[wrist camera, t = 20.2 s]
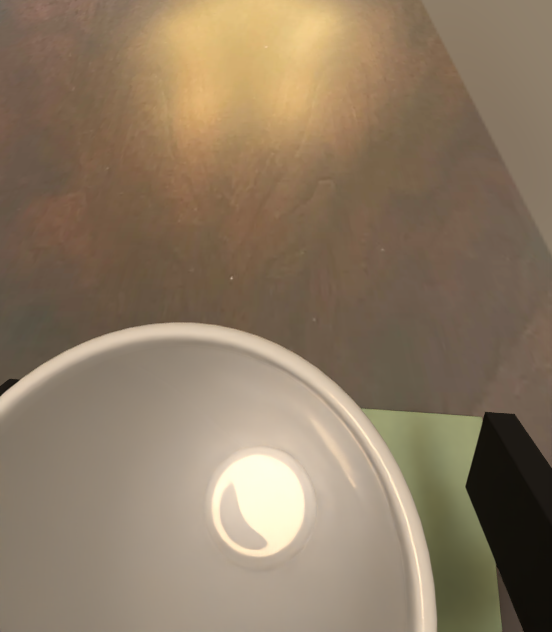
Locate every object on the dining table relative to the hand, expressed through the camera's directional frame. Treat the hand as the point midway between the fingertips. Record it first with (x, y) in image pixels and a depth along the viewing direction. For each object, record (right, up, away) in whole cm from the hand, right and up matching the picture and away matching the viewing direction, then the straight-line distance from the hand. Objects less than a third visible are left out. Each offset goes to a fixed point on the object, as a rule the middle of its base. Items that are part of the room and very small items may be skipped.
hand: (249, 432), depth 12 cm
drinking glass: (0, -5, +7) cm, 8 cm away
